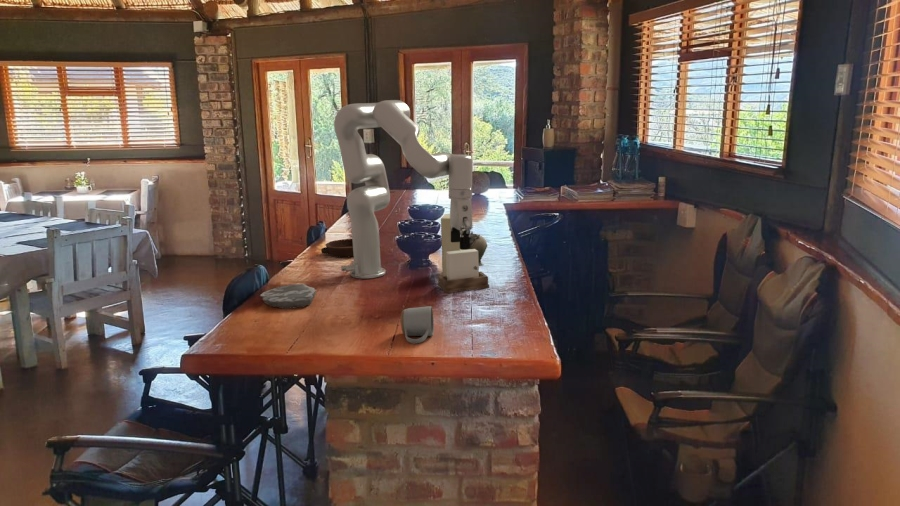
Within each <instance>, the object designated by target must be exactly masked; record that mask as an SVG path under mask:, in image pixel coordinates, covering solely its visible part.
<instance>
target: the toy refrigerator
mask: <svg viewBox="0 0 900 506" xmlns="http://www.w3.org/2000/svg"><path fill="white" fill-rule="evenodd" d="M464 228H465V227H464ZM451 231H452V230H451V223H450V213H446V214H444V215H443V216H441V218H440V232H441V233H440V234H441V235H440V237H441V239H440V240H441V268H442V269H441V270H442V275H441V276H445V275H447V268H446V252H449V251H459V250H461V249H460V242H453V243H452V242H451ZM463 232H464V231H463ZM460 237H461V234H460ZM462 250H465V249H462Z"/></svg>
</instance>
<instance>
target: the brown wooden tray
mask: <svg viewBox="0 0 900 506" xmlns="http://www.w3.org/2000/svg"><path fill="white" fill-rule="evenodd" d="M437 277H438V282H437V287H439V288H440V289H441V290H442V292H444V293H445V294H449V293H455V292H456V293H457V292H464V291H472V290H473V291H474V290H481V289H490V284H489V276H488V275H486V274H485V273H484V272H483V271H479V277H473V278H464V279H456V280H447V275H445V276H443V275H439V276H437Z"/></svg>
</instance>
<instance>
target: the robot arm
mask: <svg viewBox="0 0 900 506" xmlns="http://www.w3.org/2000/svg"><path fill="white" fill-rule="evenodd" d="M333 120H334V121H333V127H334V132H335V136H336V138H337V142H338V146H339V149H340V150H339V151H340V156H341V160H342V165H343V170H344V174H345V177H346V179H347V181H348V182H349V183H352V184H363V183H364V184H365V185H364V186H360V187H357V188H354V189H352V190H351V191H349V194H348V196H347V199H346V204H347V205H346V206H347V210H348V213H349V217H350V219H349V220H350V227H351V236H352V237H351V239H352V240H353V255H354V257H353V261H352V262H351V263H350V264H348V265H347V264H346V265H340V268H341V269H340V270H341V272H344V271H345V273H346V272H350V273H349V274H350V276H351V277H352V278H354V279H368V280H369V279H374V278H375V279H376V278H380V277H382V276H384V275H385V274H387V273H386V271H387V270H386V269H385V268H383V267H382V264H381V246H380V242H381V241H380V232H379V231H380V230H379V228H380V227H379V222H378V219H377V217H376V215H375V212H378V211H380V210H384V209H386V208H387V207H388V206H389V205H390V202H391V191H390V187H389V181H388V176H387V171H386V168H385V164H384V162H383V160H382V159H381V158H380V157H379V156H378V155H376V154H373V153H369V154H368V153H367V151H366V148H365V143H364V140H363V138H362V136H361V135H360V133H359V130H361V129H364V130H365V129H373V128H382V129H383V130H384V131H385V132H386V133H387V134H388V135H389V136H390V137H392V139H394V141H395V142H396V143H398V145H400V148H401V152H402V155H403V156H404V158H405V160H406V162H407V163H408V164H409V165H410V167H412V168H413V169H414V170H415V171H416V172H417V173H419V175H421V176H423V177H424V178H426V179H435V178H436V179H437V178H440V177H446V176H448V199H449V200H450V205H449V207H450V208H449V214H450V223H451V230H452V231H451V242H452V243H453V242H460V249H461V250H462V249H469V248H470V234H471V230H472V229H473V208H472V199H473V158H472V156H471V155H469V154H461V153H460V154H458V153H457V154H454V153H449V152H437V153H430V152H429V151H428V150H427V149H425V147H423V146H422V144H421V143H420V141H419V139H418V137H419V135H420V131H421V130H420V127H419V126H418V125H417V124H416V123H415V122H414V121H413V120H412V119H411V110H410V107H409V106H408V104H406V102H404V101H403V100H399V99H390V100H389V99H388V100H386V99H385V100H381V101H379V102H367V103H366V102H365V103H364V102H363V103H359V102H357V103H356V102H355V103H350V104H347V105H344V106H342V107H341V108H340V109H339V110H338V111H337V112H336V114H335V117H334V119H333ZM464 227H465V228H464ZM463 231H464V232H463ZM460 234H461V237H460Z"/></svg>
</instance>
